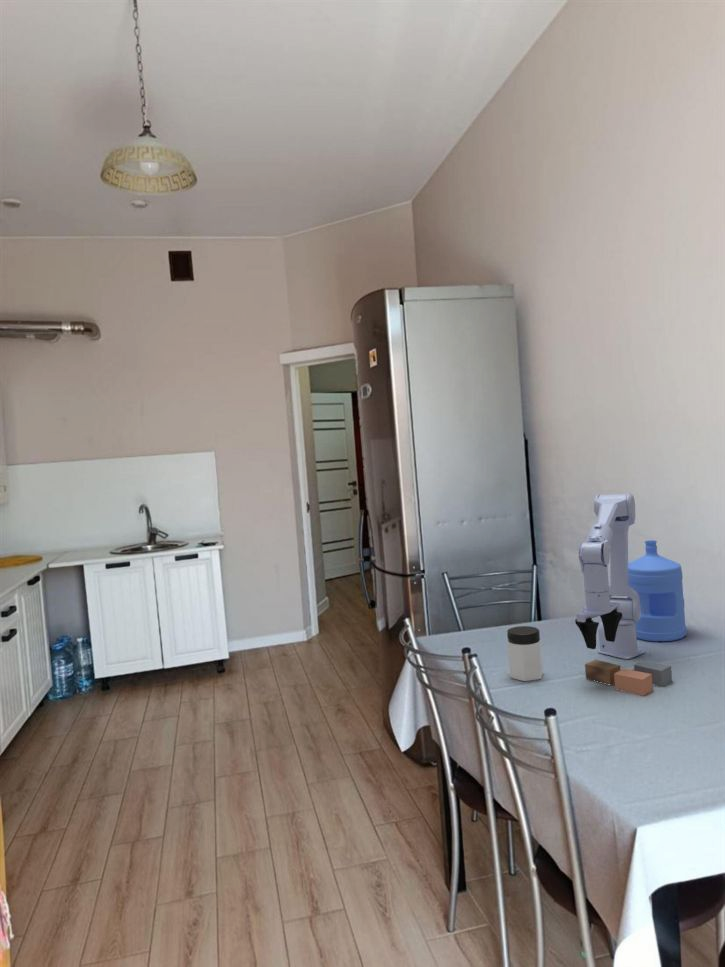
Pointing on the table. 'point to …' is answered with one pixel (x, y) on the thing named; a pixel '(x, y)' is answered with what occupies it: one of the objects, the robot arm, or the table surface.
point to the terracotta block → (633, 681)
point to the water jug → (658, 596)
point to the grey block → (655, 672)
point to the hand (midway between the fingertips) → (600, 644)
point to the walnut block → (601, 671)
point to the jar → (525, 653)
